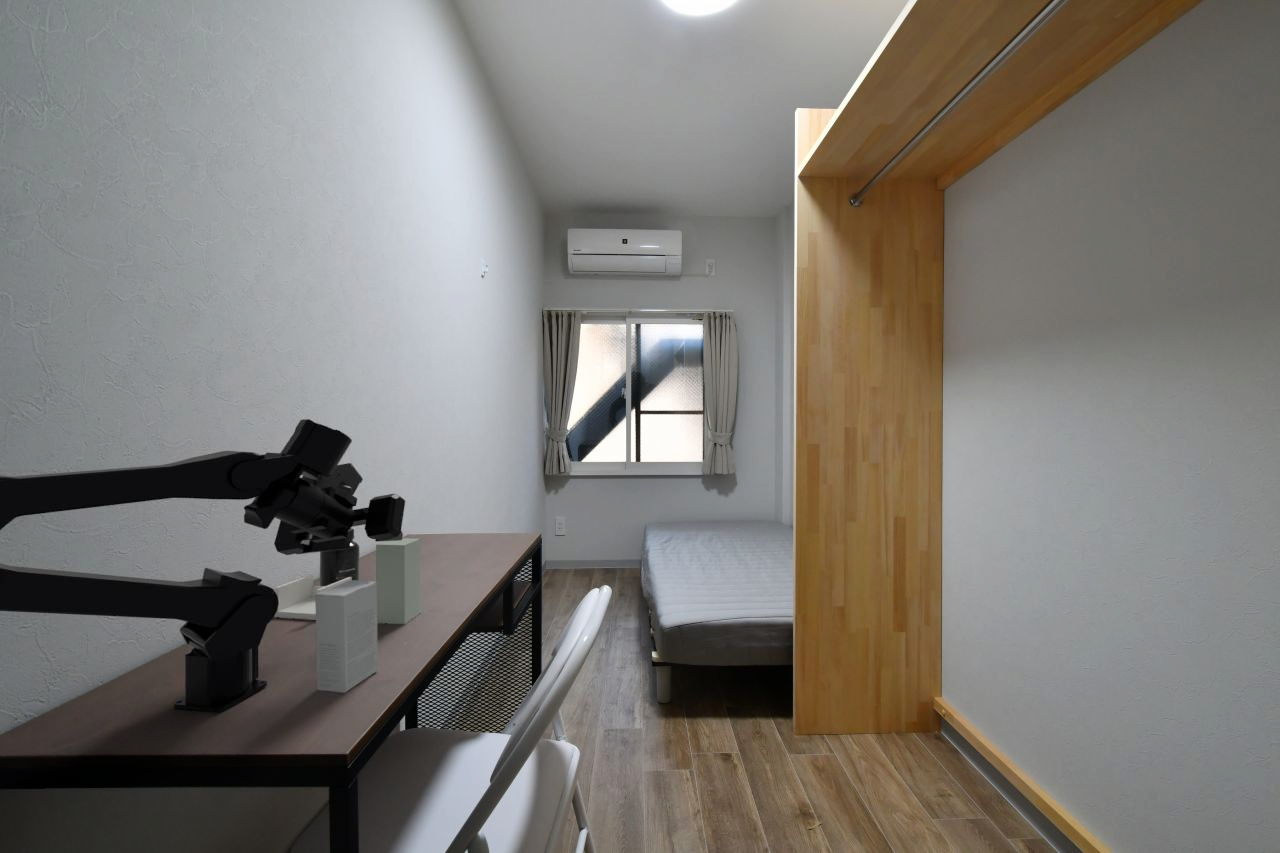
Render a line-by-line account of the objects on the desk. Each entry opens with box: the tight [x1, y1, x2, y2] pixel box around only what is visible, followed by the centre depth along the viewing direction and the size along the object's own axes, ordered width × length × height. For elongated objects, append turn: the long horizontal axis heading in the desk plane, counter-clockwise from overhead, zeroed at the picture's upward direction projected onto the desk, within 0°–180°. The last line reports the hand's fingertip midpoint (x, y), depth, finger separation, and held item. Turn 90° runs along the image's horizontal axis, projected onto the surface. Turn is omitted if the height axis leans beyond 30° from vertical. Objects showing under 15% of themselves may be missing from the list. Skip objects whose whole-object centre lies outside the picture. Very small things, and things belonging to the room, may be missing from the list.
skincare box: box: [315, 580, 379, 694], centre depth 67 cm, size 6×4×12 cm
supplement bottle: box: [319, 527, 360, 586], centre depth 104 cm, size 7×7×12 cm
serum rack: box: [274, 574, 352, 621], centre depth 92 cm, size 8×17×5 cm, turn 81°
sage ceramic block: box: [375, 537, 422, 625], centre depth 89 cm, size 5×5×13 cm
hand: (375, 541), depth 84 cm, fingers open, 9 cm apart
